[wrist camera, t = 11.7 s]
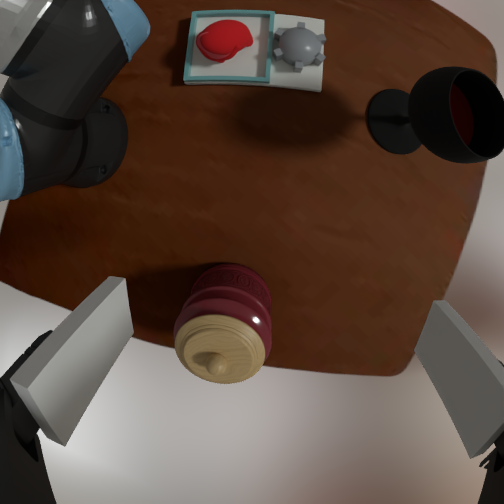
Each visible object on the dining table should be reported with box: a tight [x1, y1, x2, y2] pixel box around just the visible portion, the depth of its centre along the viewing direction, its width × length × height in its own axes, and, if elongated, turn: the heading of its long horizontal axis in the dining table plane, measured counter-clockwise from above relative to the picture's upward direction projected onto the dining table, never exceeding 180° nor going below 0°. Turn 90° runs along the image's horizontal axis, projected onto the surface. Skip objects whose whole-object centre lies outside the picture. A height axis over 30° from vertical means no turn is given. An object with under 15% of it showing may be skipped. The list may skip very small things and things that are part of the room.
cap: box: [196, 20, 253, 63], centre depth 30 cm, size 8×6×6 cm
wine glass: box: [368, 67, 504, 163], centre depth 26 cm, size 10×10×20 cm
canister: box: [174, 263, 272, 384], centre depth 39 cm, size 13×13×18 cm
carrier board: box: [183, 10, 326, 92], centre depth 32 cm, size 19×12×4 cm, turn 86°
